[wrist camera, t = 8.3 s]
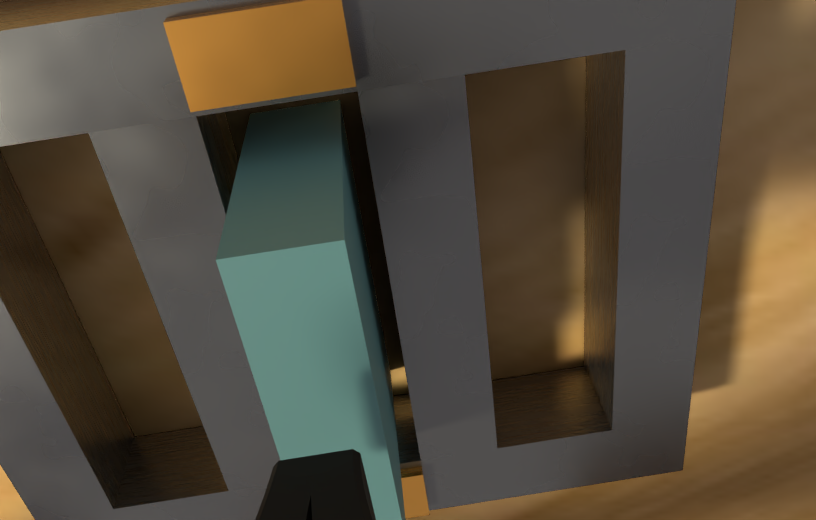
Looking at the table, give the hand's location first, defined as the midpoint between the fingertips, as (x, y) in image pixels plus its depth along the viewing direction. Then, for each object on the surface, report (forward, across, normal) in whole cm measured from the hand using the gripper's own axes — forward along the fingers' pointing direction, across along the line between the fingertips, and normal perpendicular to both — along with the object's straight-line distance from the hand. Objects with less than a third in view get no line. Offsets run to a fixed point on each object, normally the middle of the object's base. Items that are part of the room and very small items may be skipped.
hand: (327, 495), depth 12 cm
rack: (+7, 0, 0) cm, 7 cm away
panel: (+8, 0, 0) cm, 8 cm away
